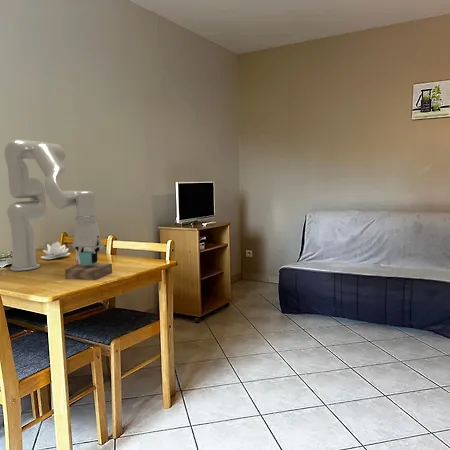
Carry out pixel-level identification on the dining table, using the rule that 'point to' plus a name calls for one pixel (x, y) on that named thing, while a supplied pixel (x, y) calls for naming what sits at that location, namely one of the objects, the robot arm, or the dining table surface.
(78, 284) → the dining table surface
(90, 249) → the ink cartridge box
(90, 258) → the teal cube
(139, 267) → the dining table surface
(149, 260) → the dining table surface
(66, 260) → the dining table surface
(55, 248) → the lotus flower
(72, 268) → the walnut base block
